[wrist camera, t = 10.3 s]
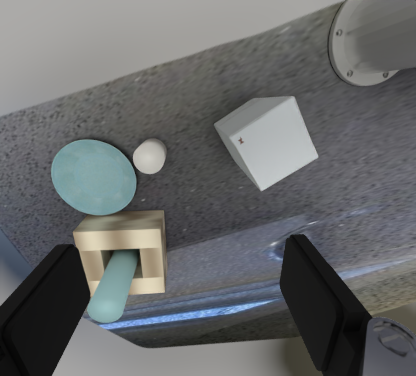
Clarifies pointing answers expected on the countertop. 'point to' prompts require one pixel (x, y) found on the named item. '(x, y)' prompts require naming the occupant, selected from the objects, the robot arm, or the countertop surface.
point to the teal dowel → (114, 286)
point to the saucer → (93, 177)
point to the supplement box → (267, 139)
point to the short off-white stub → (150, 156)
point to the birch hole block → (125, 247)
